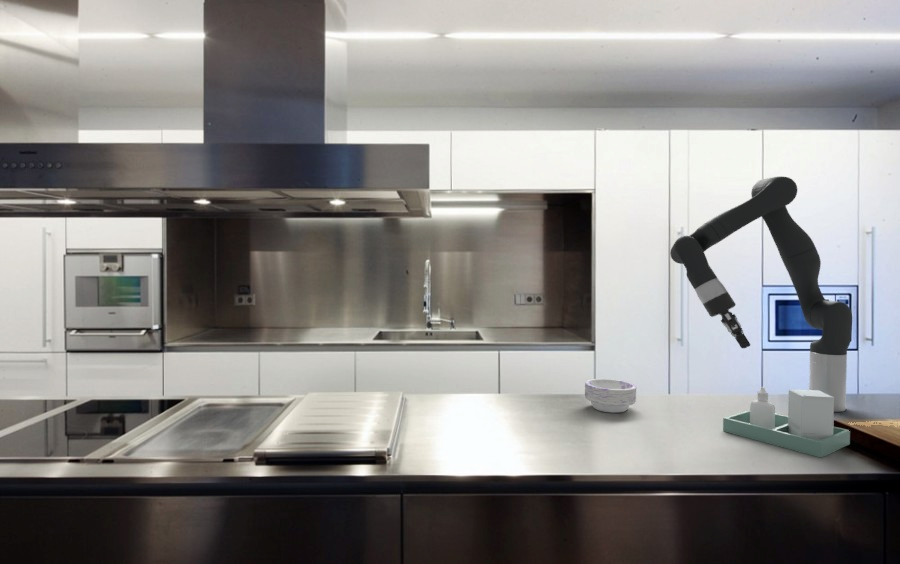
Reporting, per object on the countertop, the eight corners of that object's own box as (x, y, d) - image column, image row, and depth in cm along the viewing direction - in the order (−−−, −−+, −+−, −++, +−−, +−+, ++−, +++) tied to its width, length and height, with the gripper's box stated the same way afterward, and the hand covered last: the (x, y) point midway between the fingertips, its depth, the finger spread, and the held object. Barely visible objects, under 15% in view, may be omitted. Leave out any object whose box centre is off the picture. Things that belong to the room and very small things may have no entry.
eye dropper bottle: (762, 428, 142) (762, 384, 141) (777, 434, 136) (778, 389, 136) (747, 428, 141) (748, 385, 141) (761, 435, 136) (762, 390, 135)
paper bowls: (646, 410, 159) (646, 384, 158) (614, 419, 150) (614, 391, 150) (606, 399, 171) (606, 375, 171) (574, 407, 163) (574, 382, 162)
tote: (753, 420, 148) (753, 408, 148) (849, 444, 129) (850, 430, 129) (723, 430, 139) (723, 418, 139) (821, 457, 120) (821, 442, 120)
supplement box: (834, 449, 125) (835, 397, 124) (799, 447, 126) (801, 395, 126) (818, 439, 132) (820, 389, 132) (786, 437, 134) (787, 388, 133)
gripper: (727, 288, 144) (761, 341, 139) (726, 293, 157) (758, 341, 152) (701, 301, 147) (734, 353, 142) (702, 305, 160) (732, 352, 155)
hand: (746, 347), depth 147 cm, fingers open, 8 cm apart
